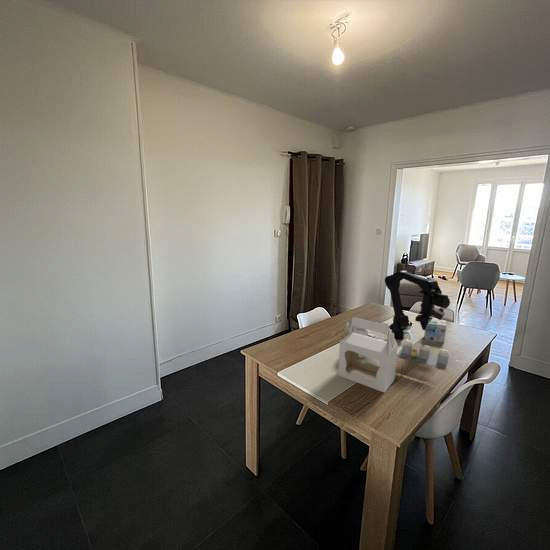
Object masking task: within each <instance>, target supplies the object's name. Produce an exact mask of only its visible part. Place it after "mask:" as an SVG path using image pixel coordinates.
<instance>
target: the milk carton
mask: <svg viewBox="0 0 550 550" xmlns="http://www.w3.org/2000/svg"><path fill="white" fill-rule="evenodd" d="M353 333H357V334H361V335H365V336H368V337H369V330H367V329H363V328H359V327H355V326H354V327H353ZM359 358H360V359H365V358H366V357H365V356H362V355H360V354H359V355H358V359H359Z"/></svg>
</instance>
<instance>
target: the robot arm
mask: <svg viewBox="0 0 550 550" xmlns="http://www.w3.org/2000/svg"><path fill="white" fill-rule="evenodd" d="M403 280H405V281H407V282H410V283H412V284H415V285H417V286H418V288H420V289H421V290H420V291H419V293H420V294H422V298H421V303H420V311H419V314H418V315H416V316H415V319H414V320H415V322H417V323H420V326H421V329H422V331H425V329H426V327H427V324H428V323H429V322H430V321H431V320H432V321H433V318H436V319H438V321H441V320H442V319H444V316H445V314H446V313H445V311H444V310H445V309H446V310H447V308H449V306H450V304H451V301H450V298H449V295H447V294H443V292H442V289H441V288H440V286H439V283H438V280H436V279H433V278H425V277H421V276H419V275H416V274H414V273H411V272H409V271H407V270H399V271H397V272H395V273H393V274H391V275H386V276H385V278H384V283H385V285H386V286H385V287H386V288H387V289H388V290H389V293H390V298H391V302H392V308H393V311H394V313H393V314H394V315H393V318H392V322H393V323H391V324H389V326H390V327H389V330H390V331H391V332H392V333H394V338H395V340H399V341H404V339H405V330H407V328H408V326H410V320H409V315H406V314H405V313H404V309H403V304H402V299H401V295H400V290H399V289H400V286H401V281H403ZM436 307H438V308H439V309H438V308H436Z"/></svg>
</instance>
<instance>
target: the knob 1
mask: <svg viewBox="0 0 550 550" xmlns="http://www.w3.org/2000/svg"><path fill="white" fill-rule="evenodd" d="M402 341H403V342H402V343H403V344H402V346H404V347H408V348H411V347H412V346H413V341H410V340H402ZM412 348H413V347H412Z"/></svg>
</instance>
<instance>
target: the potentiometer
mask: <svg viewBox="0 0 550 550" xmlns="http://www.w3.org/2000/svg"><path fill="white" fill-rule="evenodd" d="M417 351H418V350H417V349H413V350H411V355H410V358H411V359H417ZM411 359H410V360H411Z"/></svg>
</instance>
